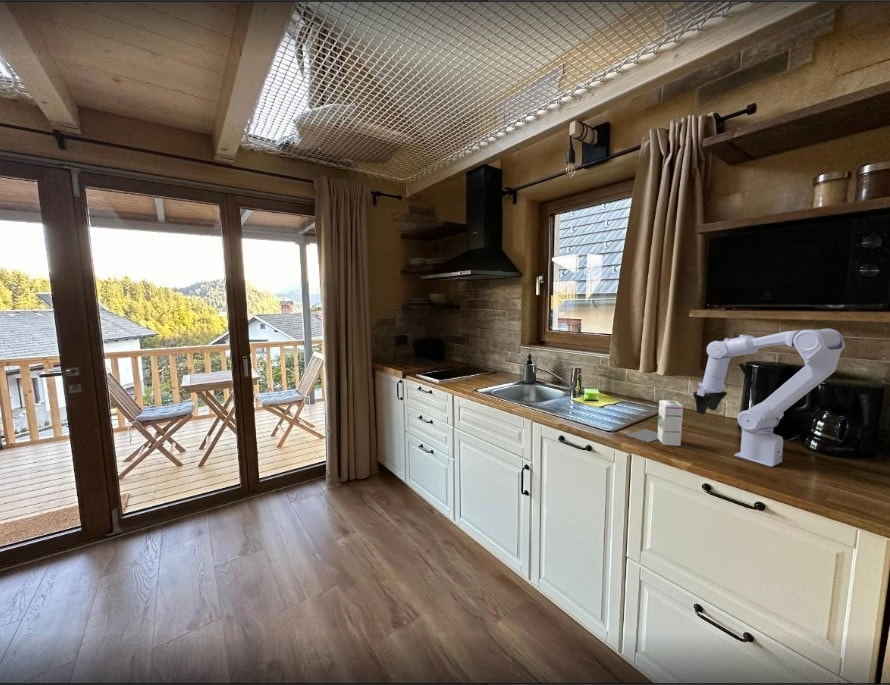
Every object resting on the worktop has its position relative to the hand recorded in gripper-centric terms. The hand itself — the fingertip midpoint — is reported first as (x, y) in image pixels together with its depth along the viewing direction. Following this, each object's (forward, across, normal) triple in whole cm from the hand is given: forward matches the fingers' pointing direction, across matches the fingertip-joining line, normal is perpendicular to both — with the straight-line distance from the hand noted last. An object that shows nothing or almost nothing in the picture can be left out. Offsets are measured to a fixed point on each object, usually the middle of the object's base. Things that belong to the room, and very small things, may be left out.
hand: (705, 411), depth 127 cm
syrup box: (+11, +13, -4) cm, 18 cm away
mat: (+12, +13, -11) cm, 21 cm away
